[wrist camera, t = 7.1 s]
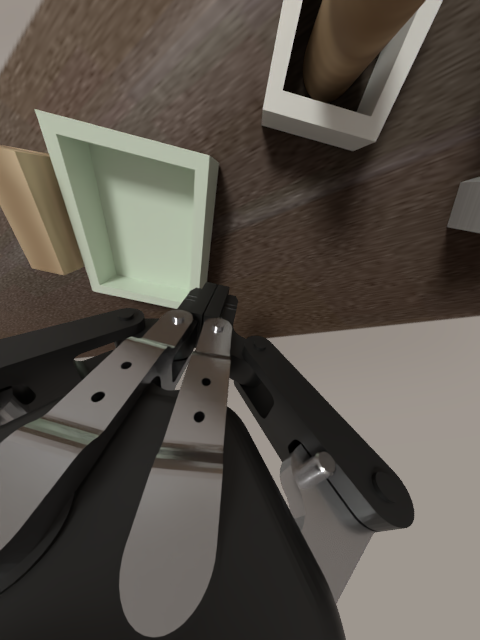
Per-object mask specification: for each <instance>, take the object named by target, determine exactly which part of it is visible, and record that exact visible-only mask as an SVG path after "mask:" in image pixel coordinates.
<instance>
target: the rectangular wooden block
mask: <svg viewBox="0 0 480 640" xmlns="http://www.w3.org/2000/svg"><path fill="white" fill-rule="evenodd" d="M0 206H1V208H2V210H3V212H4V214H5V215H6V217H7V219H8V221H9V223H10V225H11V227H12V229H13V231H14V233H15V235H16V237H17V239H18V241H19V243H20V245H21V247H22V249H23V251H24V253H25V255H26V257H27V259H28V261H29V263H30V265H31V267H32V268H33V269H38V270H42V271H47V272H52V273H56V274H61V275H66V274H68V273H71V272H73V271H75V270H78V269H80V268H82V267H85V265H84V262H83V259H82V256H81V252H80V249H79V246H78V243H77V240H76V237H75V234H74V231H73V227H72V224H71V221H70V218H69V215H68V212H67V209H66V206H65V202H64V199H63V196H62V193H61V190H60V187H59V184H58V180H57V177H56V174H55V171H54V168H53V165H52V162H51V159H50V155H49V154H47V153H41V152H36V151H30V150H25V149H19V148H14V147H8V146H3V145H0Z"/></svg>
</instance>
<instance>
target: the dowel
mask: <svg viewBox="0 0 480 640" xmlns="http://www.w3.org/2000/svg"><path fill="white" fill-rule="evenodd" d="M425 1H426V0H322V3H321V6H320V9H319V12H318V15H317V18H316V21H315V23H314V26H313V29H312V32H311V35H310V38H309V41H308V44H307V47H306V50H305V55H304V61H303V79H304V84H305V87H306V90H307V92H308V94H309V95H310V97H311V98H312V99H313V100H317V101H320V102H324V103H329V102H332V101H334V100H336V99H338V98H339V97H340V96H341V95H342V94H344V93H345V91H346V90H347V89H348V88H349V87H350V86H351V85H352V84H353V82H354V81H355V80H356V79H357V78H358V77H359V76H360V74H361V73H362V72H363V71H364V70H365V69H366V68H367V67H368V65H369V64H370V63H371V62H372V61H373V60H374V59H375V58H376V56H377V55H378V54H379V53H380V52H381V51H382V50H383V48H384V47H385V46H386V45H387V44H388V43H389V42H390V41H391V39H392V38H393V37H394V36H395V35H396V34H397V33H398V32H399V30H400V29H401V28H402V27H403V26H404V25H405V24H406V23H407V21H408V20H409V19H410V18H411V17H412V16H413V15H414V13H415V12H416V11H417V10H418V9H419V8H420V7H421V6H422V4H423V3H424V2H425Z"/></svg>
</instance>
